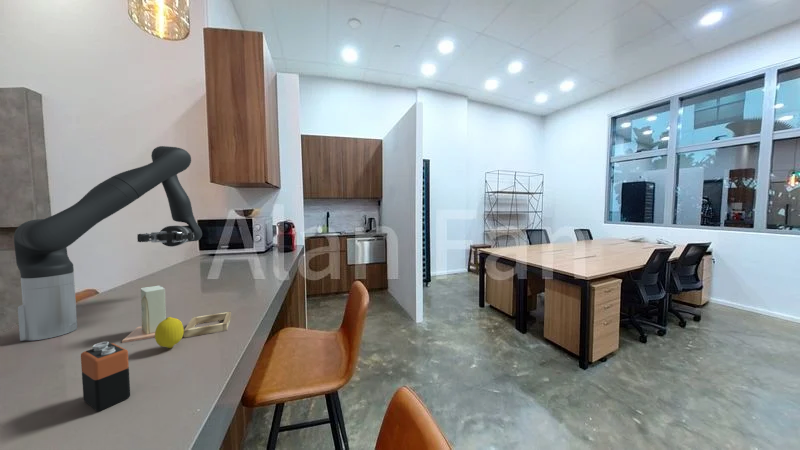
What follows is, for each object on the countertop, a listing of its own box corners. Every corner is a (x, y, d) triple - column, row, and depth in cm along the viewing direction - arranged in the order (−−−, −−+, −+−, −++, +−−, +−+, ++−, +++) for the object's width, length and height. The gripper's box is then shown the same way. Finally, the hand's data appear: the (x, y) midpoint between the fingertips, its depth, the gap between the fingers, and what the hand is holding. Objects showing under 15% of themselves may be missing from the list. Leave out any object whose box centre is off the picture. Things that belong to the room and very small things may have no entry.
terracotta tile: (122, 342, 71) (121, 340, 71) (137, 328, 80) (137, 326, 80) (170, 334, 76) (170, 332, 76) (180, 322, 84) (179, 320, 84)
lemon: (167, 354, 64) (166, 322, 64) (149, 352, 66) (148, 320, 65) (190, 343, 70) (188, 313, 70) (172, 342, 71) (171, 312, 71)
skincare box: (141, 329, 78) (139, 288, 78) (161, 324, 82) (159, 284, 81) (146, 334, 74) (144, 291, 74) (167, 329, 78) (165, 288, 77)
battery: (116, 387, 52) (113, 337, 52) (131, 397, 49) (128, 344, 49) (82, 401, 48) (79, 347, 48) (97, 413, 45) (93, 355, 45)
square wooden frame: (183, 337, 73) (183, 330, 73) (193, 323, 83) (192, 317, 83) (227, 330, 78) (226, 323, 78) (231, 317, 88) (230, 311, 88)
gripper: (150, 225, 97) (130, 226, 82) (198, 225, 103) (188, 226, 89) (150, 246, 97) (131, 251, 82) (199, 244, 103) (188, 248, 89)
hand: (160, 238), depth 86 cm, fingers open, 8 cm apart
